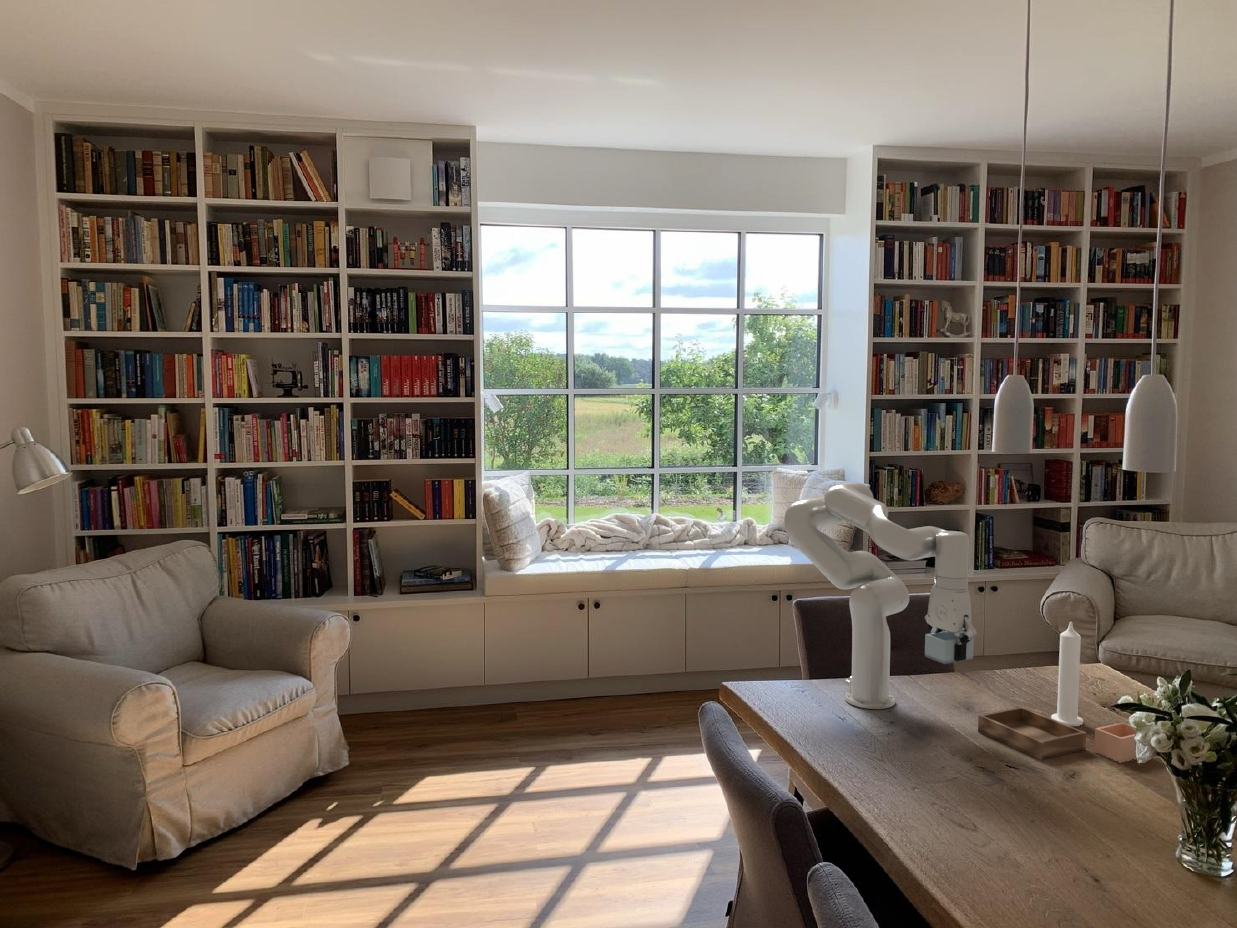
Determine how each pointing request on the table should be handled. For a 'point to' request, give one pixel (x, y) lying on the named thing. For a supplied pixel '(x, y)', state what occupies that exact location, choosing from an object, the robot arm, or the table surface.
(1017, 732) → the walnut crate
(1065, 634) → the candle
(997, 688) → the table surface
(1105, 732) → the terracotta crate
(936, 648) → the bluegrey crate
